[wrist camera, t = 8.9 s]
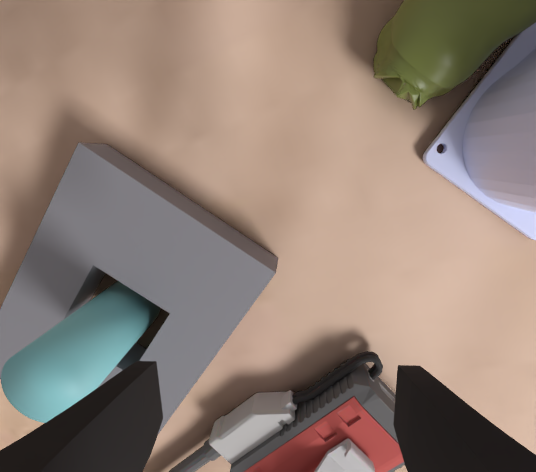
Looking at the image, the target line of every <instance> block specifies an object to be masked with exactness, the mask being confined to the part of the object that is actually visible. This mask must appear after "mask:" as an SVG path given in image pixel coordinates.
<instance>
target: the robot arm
mask: <svg viewBox="0 0 536 472" xmlns="http://www.w3.org/2000/svg"><path fill="white" fill-rule="evenodd" d="M439 144H442V145H443V146H444V150H443V152H441V153H438V152H437V146H438V145H439ZM423 161H424V163H425V164H426V165H427V166H429V167H430V168H431V169H433V170H434V171H436V172H437V173H438V174H440V175H441V176H443V177H444V178H445V179H447V180H448V181H449V182H451V183H452V184H454V185H455V186H456V187H458V188H459V189H461V190H462V191H463V192H465V193H466V194H468V195H469V196H470V197H472V198H473V199H475V200H476V201H477V202H479V203H480V204H482V205H483V206H484V207H486V208H487V209H488V210H490V211H491V212H493V213H494V214H495V215H497V216H498V217H500V218H501V219H502V220H504V221H505V222H507V223H508V224H509V225H511V226H512V227H514V228H515V229H516V230H518V231H519V232H520V233H522V234H523V235H525V236H526V237H528V238H530V239H533V240H536V22H535V23H534V24H533V25H531V26H530V27H528V28H527V29H525V30H524V31H522V32H521V33H519V34H517V35H516V36H515V37H514V38H513V40H512V41H511V42H510V44H509V45H508V46H507V47H506V49H505V50H504V51H503V53H502V54H501V55H500V56H499V58H498V59H497V60H496V61H495V63H494V64H493V65H492V67H491V68H490V69H489V70H488V72H487V73H486V74H485V75H484V77H483V78H482V79H481V81H480V82H479V83H478V84H477V86H476V87H475V88H474V90H473V91H472V92H471V93H470V95H469V96H468V97H467V98H466V100H465V101H464V102H463V104H462V105H461V106H460V107H459V109H458V110H457V111H456V113H455V114H454V115H453V116H452V118H451V119H450V120H449V121H448V123H447V124H446V125H445V127H444V128H443V129H442V130H441V132H440V133H439V134H438V136H437V137H436V138H435V139H434V141H433V142H432V143H431V144H430V146H429V147H428V148H427V150H426V151H425V152H424V154H423ZM162 420H163V412H162V403H161V395H160V387H159V378H158V370H157V362H156V361H136V362H135V363H133V364H132V365H130V366H128V367H127V368H125V369H124V370H122V371H121V372H120V373H118V374H117V375H115V376H114V377H112V378H111V379H110V380H108V381H107V382H105V383H104V384H102V385H101V386H100V387H98V388H97V389H95V390H94V391H92V392H91V393H90V394H88V395H87V396H85V397H84V398H82V399H81V400H80V401H78V402H77V403H75V404H74V405H72V406H71V407H69V408H68V409H66V410H65V411H63V412H62V413H60V414H58V415H57V416H55V417H54V418H52V419H51V420H49V421H48V422H46V423H45V424H43V425H41V426H40V427H38V428H37V429H35V430H34V431H32V432H31V433H29V434H27V435H26V436H24V437H22V438H21V439H19V440H17V441H16V442H14V443H12V444H11V445H9V446H7V447H6V448H4V449H2V450H0V472H142V471H143V469H144V467H145V465H146V463H147V461H148V459H149V457H150V454H151V452H152V449H153V446H154V444H155V441H156V438H157V435H158V432H159V429H160V426H161V423H162ZM393 425H394V429H395V432H396V436H397V440H398V443H399V447H400V450H401V453H402V457H403V460H404V463H405V466H406V468H407V471H408V472H536V455H535V454H533V453H532V452H531V451H529V450H528V449H527V448H525V447H524V446H522V445H521V444H520V443H518V442H517V441H515V440H514V439H513V438H511V437H510V436H508V435H507V434H506V433H504V432H503V431H502V430H500V429H499V428H498V427H496V426H495V425H494V424H492V423H491V422H490V421H488V420H487V419H486V418H485V417H483V416H482V415H481V414H479V413H478V412H477V411H476V410H474V409H473V408H472V407H470V406H469V405H468V404H467V403H465V402H464V401H463V400H462V399H460V398H459V397H458V396H457V395H456V394H454V393H453V392H452V391H451V390H449V389H448V388H447V387H446V386H444V385H443V384H442V383H441V382H440V381H438V380H437V379H436V378H435V377H433V376H432V375H431V374H430V373H428V372H427V371H426V370H425V369H423V368H422V367H421V366H400V365H398V371H397V384H396V397H395V410H394V423H393Z"/></svg>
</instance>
